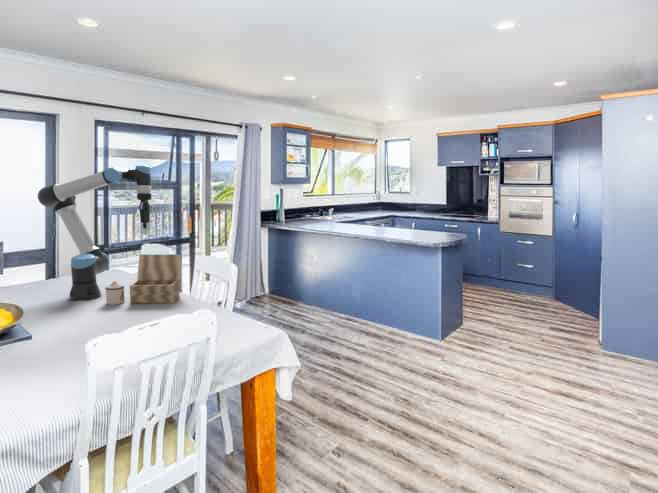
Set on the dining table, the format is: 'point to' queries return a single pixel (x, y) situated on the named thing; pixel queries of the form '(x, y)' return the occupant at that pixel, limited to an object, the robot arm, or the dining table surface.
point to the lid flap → (159, 267)
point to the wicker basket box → (154, 291)
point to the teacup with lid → (114, 293)
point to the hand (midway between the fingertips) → (145, 233)
